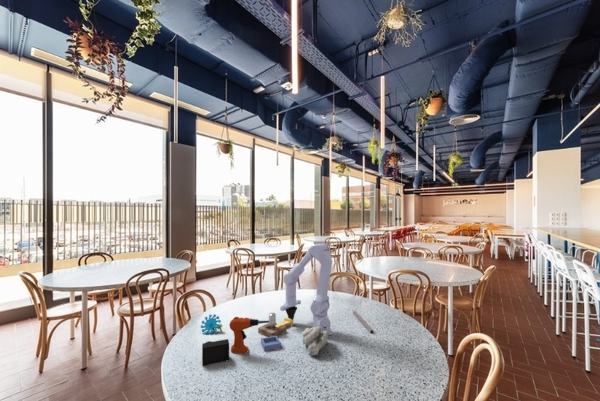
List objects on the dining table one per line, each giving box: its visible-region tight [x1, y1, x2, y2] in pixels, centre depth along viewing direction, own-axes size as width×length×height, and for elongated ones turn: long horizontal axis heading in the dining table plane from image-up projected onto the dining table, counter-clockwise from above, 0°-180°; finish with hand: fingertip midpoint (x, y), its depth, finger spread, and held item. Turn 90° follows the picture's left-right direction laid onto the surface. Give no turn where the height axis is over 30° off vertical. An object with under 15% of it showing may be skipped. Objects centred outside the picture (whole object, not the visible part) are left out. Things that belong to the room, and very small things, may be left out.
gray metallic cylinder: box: [268, 312, 277, 330], centre depth 134 cm, size 3×3×9 cm
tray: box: [260, 336, 282, 352], centre depth 120 cm, size 8×8×2 cm
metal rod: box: [352, 310, 375, 334], centre depth 145 cm, size 2×27×2 cm, turn 7°
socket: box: [257, 322, 290, 337], centre depth 136 cm, size 10×15×2 cm, turn 140°
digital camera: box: [201, 338, 230, 367], centre depth 109 cm, size 10×5×7 cm, turn 111°
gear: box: [200, 313, 223, 335], centre depth 137 cm, size 11×6×10 cm
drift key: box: [276, 316, 294, 328], centre depth 140 cm, size 5×10×3 cm, turn 140°
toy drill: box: [229, 316, 269, 355], centre depth 115 cm, size 5×19×15 cm, turn 79°
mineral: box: [302, 326, 330, 356], centre depth 118 cm, size 12×17×10 cm
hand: (291, 320), depth 145 cm, fingers closed
